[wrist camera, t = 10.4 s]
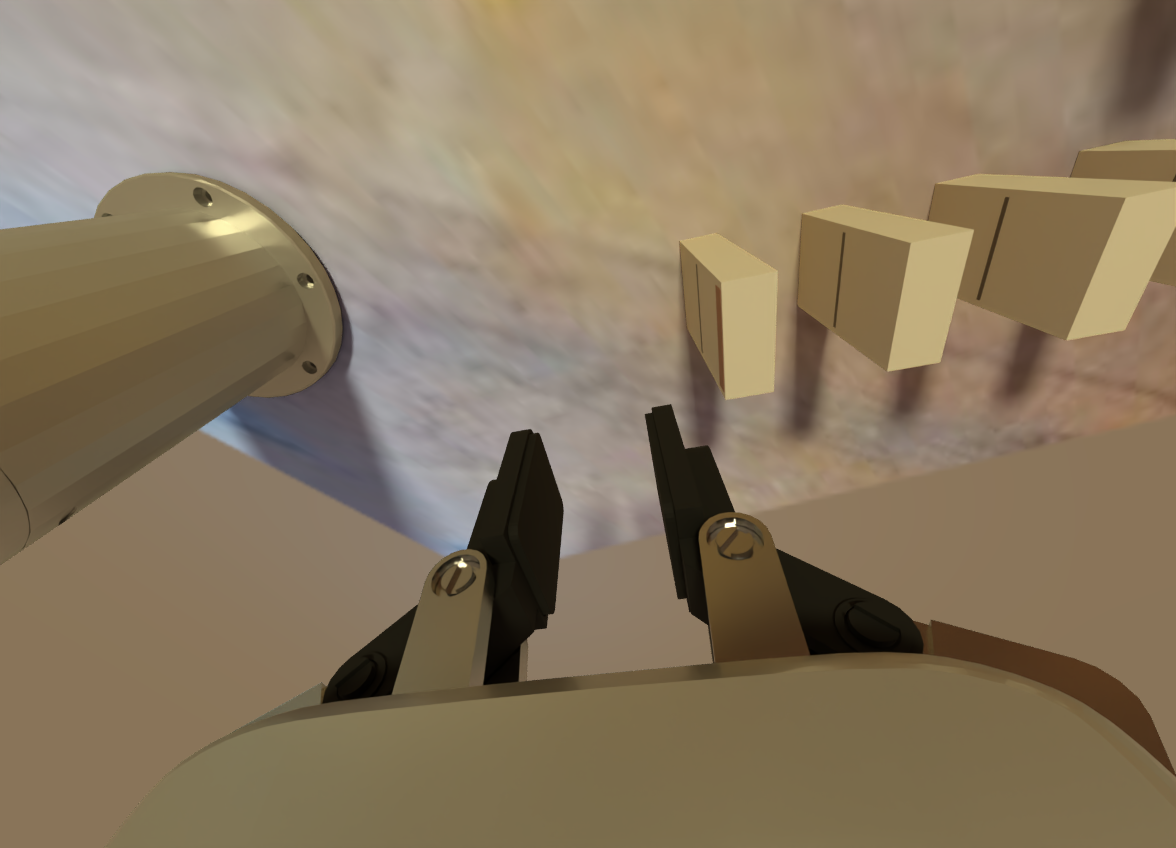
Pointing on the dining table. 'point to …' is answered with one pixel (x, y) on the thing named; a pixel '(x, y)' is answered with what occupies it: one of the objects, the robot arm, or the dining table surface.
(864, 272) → the domino
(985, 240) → the domino
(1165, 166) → the domino
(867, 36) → the dining table surface
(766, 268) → the domino
